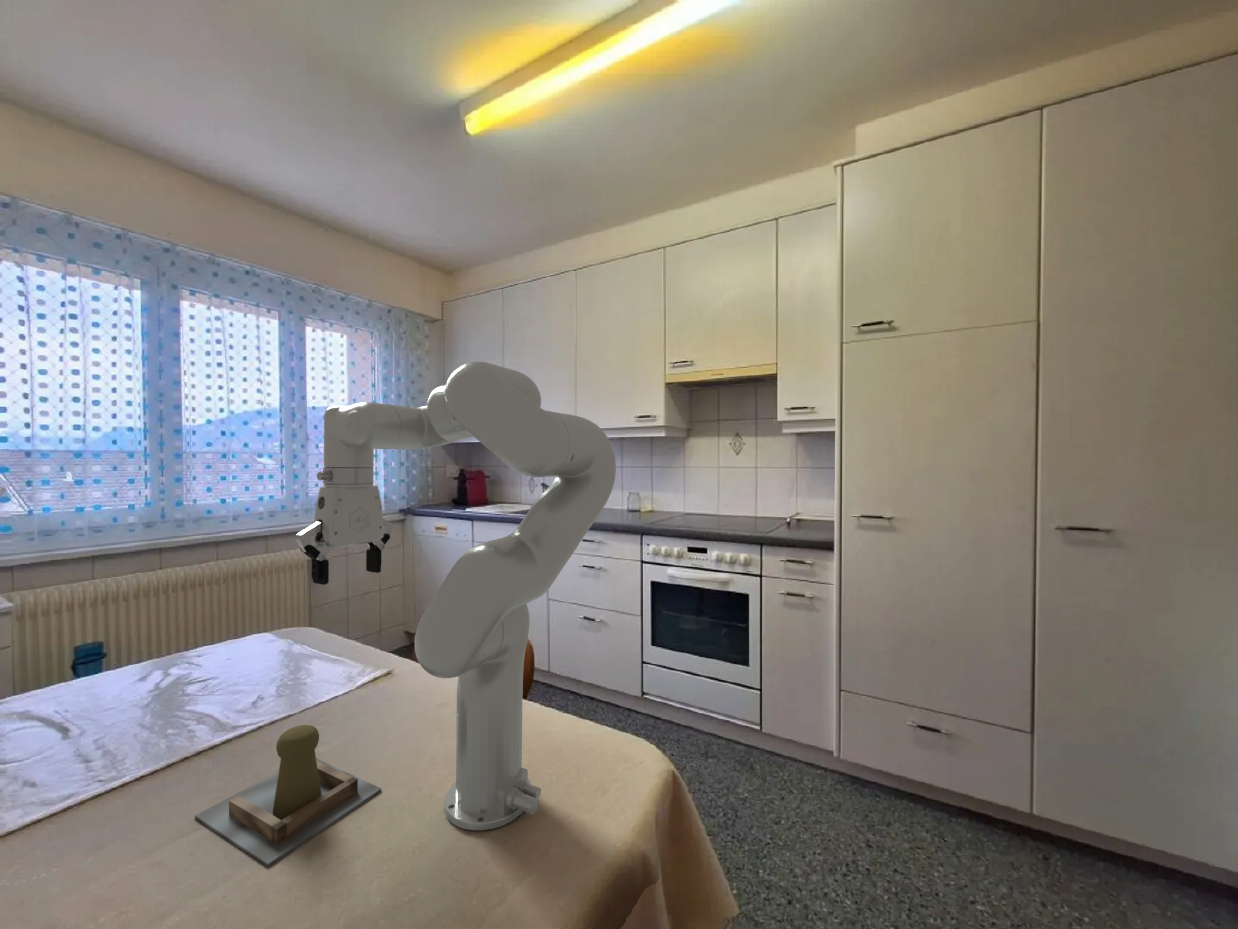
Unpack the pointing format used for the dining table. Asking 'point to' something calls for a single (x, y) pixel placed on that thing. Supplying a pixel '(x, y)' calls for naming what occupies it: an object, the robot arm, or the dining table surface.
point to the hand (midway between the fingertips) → (348, 577)
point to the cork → (296, 770)
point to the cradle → (272, 838)
